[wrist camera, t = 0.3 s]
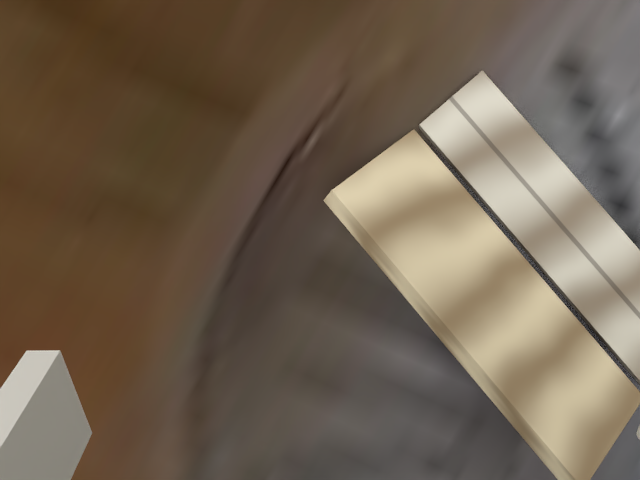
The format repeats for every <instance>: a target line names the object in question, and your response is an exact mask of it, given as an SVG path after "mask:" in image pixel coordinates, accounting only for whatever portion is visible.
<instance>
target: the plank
mask: <svg viewBox="0 0 640 480" xmlns="http://www.w3.org/2000/svg"><path fill="white" fill-rule="evenodd" d="M324 202H325V203H326V204H327V205H328V206H329V208H330V209H331V210H332V211H333V212H334V214H335V215H336V216H337V217H338V218H339V220H340V221H341V222H342V223H343V224H344V225H345V227H346V228H347V229H348V230H349V231H350V233H351V234H352V235H353V236H354V237H355V239H356V240H357V241H358V242H359V243H360V245H361V246H362V247H363V248H364V249H365V250H366V252H367V253H368V254H369V255H370V256H371V258H372V259H373V260H374V261H375V262H376V264H377V265H378V266H379V267H380V268H381V270H382V271H383V272H384V273H385V274H386V276H387V277H388V278H389V279H390V280H391V281H392V283H393V284H394V285H395V286H396V287H397V289H398V290H399V291H400V292H401V293H402V295H403V296H404V297H405V298H406V299H407V301H408V302H409V303H410V304H411V305H412V306H413V308H414V309H415V310H416V311H417V312H418V314H419V315H420V316H421V317H422V318H423V320H424V321H425V322H426V323H427V324H428V326H429V327H430V328H431V329H432V330H433V331H434V333H435V334H436V335H437V336H438V337H439V339H440V340H441V341H442V342H443V343H444V345H445V346H446V347H447V348H448V349H449V351H450V352H451V353H452V354H453V355H454V356H455V358H456V359H457V360H458V361H459V362H460V364H461V365H462V366H463V367H464V368H465V370H466V371H467V372H468V373H469V374H470V376H471V377H472V378H473V379H474V380H475V381H476V383H477V384H478V385H479V386H480V387H481V389H482V390H483V391H484V392H485V393H486V395H487V396H488V397H489V398H490V399H491V401H492V402H493V403H494V404H495V405H496V406H497V408H498V409H499V410H500V411H501V412H502V414H503V415H504V416H505V417H506V418H507V420H508V421H509V422H510V423H511V424H512V426H513V427H514V428H515V429H516V430H517V431H518V433H519V434H520V435H521V436H522V437H523V439H524V440H525V441H526V442H527V443H528V445H529V446H530V447H531V448H532V449H533V451H534V452H535V453H536V454H537V455H538V456H539V458H540V459H541V460H542V461H543V462H544V464H545V465H546V466H547V467H548V468H549V470H550V471H551V472H552V473H553V474H554V476H555V477H556V478H557V479H558V480H590V479H591V477H592V476H593V474H594V473H595V471H596V470H597V468H598V467H599V465H600V464H601V462H602V461H603V459H604V458H605V456H606V455H607V453H608V452H609V450H610V449H611V447H612V445H613V444H614V442H615V441H616V439H617V438H618V436H619V435H620V433H621V432H622V430H623V429H624V427H625V426H626V424H627V423H628V421H629V420H630V418H631V417H632V415H633V413H634V412H635V410H636V409H637V407H638V406H639V404H640V392H639V390H638V389H637V388H636V387H635V386H634V385H633V383H632V382H631V381H630V380H629V379H628V378H627V376H626V375H625V374H624V373H623V372H622V371H621V369H620V368H619V367H618V366H617V365H616V364H615V362H614V361H613V360H612V359H611V358H610V357H609V356H608V354H607V353H606V352H605V351H604V350H603V349H602V347H601V346H600V345H599V344H598V343H597V342H596V340H595V339H594V338H593V337H592V336H591V335H590V333H589V332H588V331H587V330H586V329H585V328H584V326H583V325H582V324H581V323H580V322H579V321H578V319H577V318H576V317H575V316H574V315H573V314H572V312H571V311H570V310H569V309H568V308H567V307H566V305H565V304H564V303H563V302H562V301H561V300H560V299H559V297H558V296H557V295H556V294H555V293H554V292H553V290H552V289H551V288H550V287H549V286H548V285H547V283H546V282H545V281H544V280H543V279H542V278H541V276H540V275H539V274H538V273H537V272H536V271H535V269H534V268H533V267H532V266H531V265H530V264H529V262H528V261H527V260H526V259H525V258H524V257H523V255H522V254H521V253H520V252H519V251H518V250H517V249H516V247H515V246H514V245H513V244H512V243H511V242H510V240H509V239H508V238H507V237H506V236H505V235H504V233H503V232H502V231H501V230H500V229H499V228H498V226H497V225H496V224H495V223H494V222H493V221H492V219H491V218H490V217H489V216H488V215H487V214H486V212H485V211H484V210H483V209H482V208H481V207H480V205H479V204H478V203H477V202H476V201H475V200H474V199H473V197H472V196H471V195H470V194H469V193H468V192H467V190H466V189H465V188H464V187H463V186H462V185H461V183H460V182H459V181H458V180H457V179H456V178H455V176H454V175H453V174H452V173H451V172H450V171H449V169H448V168H447V167H446V166H445V165H444V164H443V162H442V161H441V160H440V159H439V158H438V157H437V155H436V154H435V153H434V152H433V151H432V150H431V149H430V147H429V146H428V145H427V144H426V143H425V142H424V140H423V139H422V138H421V137H420V136H419V135H418V133H417V132H416V131H415V130H412V131H411V132H410V133H408V134H407V135H405V136H404V137H403V138H401V139H400V140H399V141H397V142H396V143H395V144H393V145H392V146H391V147H389V148H388V149H387V150H385V151H384V152H383V153H381V154H380V155H379V156H377V157H376V158H374V159H373V160H372V161H370V162H369V163H368V164H366V165H365V166H364V167H362V168H361V169H360V170H358V171H357V172H356V173H354V174H353V175H352V176H350V177H349V178H348V179H346V180H345V181H343V182H342V183H341V184H339V185H338V186H337V187H335V188H334V189H333V190H331V192H330V193H329V194H328V195H327V197H326V198H325V199H324Z"/></svg>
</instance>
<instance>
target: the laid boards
mask: <svg viewBox="0 0 640 480" xmlns="http://www.w3.org/2000/svg"><path fill="white" fill-rule="evenodd" d="M419 129H420V130H421V131H422V132H423V134H424V135H425V136H426V137H427V138H428V139H429V141H430V142H431V143H432V144H433V145H434V146H435V148H436V149H437V150H438V151H439V152H440V153H441V155H442V156H443V157H444V158H445V159H446V160H447V162H448V163H449V164H450V165H451V166H452V167H453V168H454V170H455V171H456V172H457V173H458V174H459V175H460V177H461V178H462V179H463V180H464V181H465V182H466V184H467V185H468V186H469V187H470V188H471V189H472V191H473V192H474V193H475V194H476V195H477V196H478V198H479V199H480V200H481V201H482V202H483V203H484V204H485V206H486V207H487V208H488V209H489V210H490V211H491V213H492V214H493V215H494V216H495V217H496V218H497V220H498V221H499V222H500V223H501V224H502V225H503V227H504V228H505V229H506V230H507V231H508V232H509V234H510V235H511V236H512V237H513V238H514V239H515V241H516V242H517V243H518V244H519V245H520V246H521V247H522V249H523V250H524V251H525V252H526V253H527V254H528V256H529V257H530V258H531V259H532V260H533V261H534V263H535V264H536V265H537V266H538V267H539V268H540V270H541V271H542V272H543V273H544V274H545V275H546V277H547V278H548V279H549V280H550V281H551V282H552V283H553V285H554V286H555V287H556V288H557V289H558V290H559V292H560V293H561V294H562V295H563V296H564V297H565V299H566V300H567V301H568V302H569V303H570V304H571V306H572V307H573V308H574V309H575V310H576V311H577V313H578V314H579V315H580V316H581V317H582V318H583V320H584V321H585V322H586V323H587V324H588V325H589V326H590V328H591V329H592V330H593V331H594V332H595V333H596V335H597V336H598V337H599V338H600V339H601V340H602V342H603V343H604V344H605V345H606V346H607V347H608V349H609V350H610V351H611V352H612V353H613V354H614V356H615V357H616V358H617V359H618V360H619V361H620V362H621V364H622V365H623V366H624V367H625V368H626V369H627V371H628V372H629V373H630V374H631V375H632V376H633V378H634V379H635V380H636V381H637V382H638V383H639V385H640V250H639V249H638V248H637V247H636V245H635V244H634V243H633V242H632V241H631V240H630V239H629V237H628V236H627V235H626V234H625V233H624V232H623V231H622V229H621V228H620V227H619V226H618V225H617V224H616V223H615V221H614V220H613V219H612V218H611V217H610V216H609V215H608V213H607V212H606V211H605V210H604V209H603V208H602V207H601V205H600V204H599V203H598V202H597V201H596V200H595V199H594V197H593V196H592V195H591V194H590V193H589V192H588V191H587V189H586V188H585V187H584V186H583V185H582V184H581V183H580V181H579V180H578V179H577V178H576V177H575V176H574V175H573V173H572V172H571V171H570V170H569V169H568V168H567V167H566V166H565V164H564V163H563V162H562V161H561V160H560V159H559V158H558V156H557V155H556V154H555V153H554V152H553V151H552V150H551V148H550V147H549V146H548V145H547V144H546V143H545V142H544V140H543V139H542V138H541V137H540V136H539V135H538V134H537V132H536V131H535V130H534V129H533V128H532V127H531V126H530V124H529V123H528V122H527V121H526V120H525V119H524V118H523V116H522V115H521V114H520V113H519V112H518V111H517V110H516V108H515V107H514V106H513V105H512V104H511V103H510V102H509V100H508V99H507V98H506V97H505V96H504V95H503V94H502V92H501V91H500V90H499V89H498V88H497V87H496V86H495V84H494V83H493V82H492V81H491V80H490V79H489V78H488V76H487V75H486V74H485V73H484V72H483V71H481V72H480V73H479V74H478V75H477V76H475V77H474V78H473V79H472V80H471V81H470V82H468V83H467V84H466V85H465V86H464V87H463V88H461V89H460V90H459V91H458V92H457V93H456V94H454V95H453V96H452V97H451V98H450V99H449V100H447V101H446V102H445V103H444V104H443V105H442V106H440V107H439V108H438V109H437V110H436V111H435V112H434V113H432V114H431V115H430V116H429V117H428V118H427V119H425V120H424V121H423V122H422V123H421V124H420V125H419Z"/></svg>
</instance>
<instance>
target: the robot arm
mask: <svg viewBox="0 0 640 480" xmlns="http://www.w3.org/2000/svg"><path fill="white" fill-rule="evenodd" d="M91 434H92V432H91V429H90V426H89V424H88V421H87V419H86V416H85V414H84V411H83V408H82V406H81V403H80V401H79V398H78V395H77V393H76V390H75V388H74V385H73V383H72V380H71V377H70V375H69V372H68V370H67V367H66V365H65V362H64V359H63V357H62V354H61V352H60V351H26V352H25V354H24V355H23V357H22V358H21V360H20V361H19V363H18V364H17V366H16V367H15V368H14V370H13V371H12V373H11V374H10V376H9V377H8V379H7V380H6V382H5V383H4V384H3V386H2V387H1V389H0V480H71V478H72V475H73V473H74V471H75V469H76V467H77V465H78V462H79V460H80V458H81V456H82V454H83V452H84V450H85V447H86V445H87V443H88V441H89V439H90V437H91ZM636 434H637V436H638V438H639V440H640V425H639V428H638V431H637V433H636Z"/></svg>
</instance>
